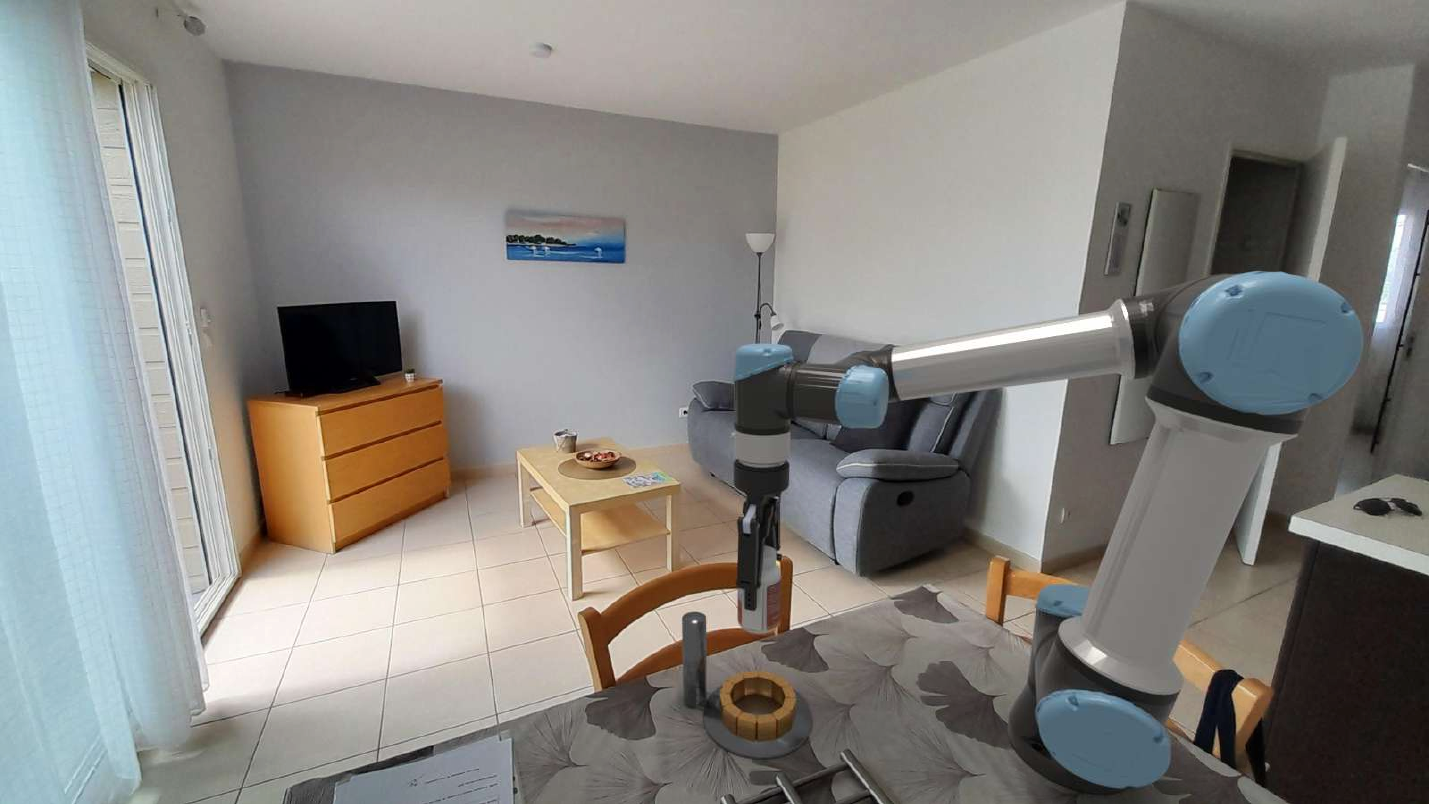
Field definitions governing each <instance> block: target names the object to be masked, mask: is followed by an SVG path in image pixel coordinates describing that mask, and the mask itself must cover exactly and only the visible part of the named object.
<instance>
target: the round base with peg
mask: <svg viewBox="0 0 1429 804" xmlns="http://www.w3.org/2000/svg"><path fill="white" fill-rule="evenodd" d="M681 622H682V623H681V624H682V625H681V626H682V627H681V628H682V629H681V634H682V638H681V639H682V641H681V642H682V697H683V699H682V702H683V704H684V705H685V707H687V708H689V709H693V710H695V709H696V710H700V711H703V714H702V715H703V724H704V728H705V731H706V732H707V734H708V735H709V737H710V738H711V739H712V740H713V742H714V743H715V744H716V745H717V746H719V747H720V748H722V749H723V750H725V751H726V752H728V753H731V754H733V755H735V756H737V757H742V758H744V759H745V758H746V759H751V760H752V759H753V760H771V759H776V758H777V759H778V758H781V757H783V756H787V755H789V754H791V753H793V752H795V751H796V750H798V749H800V747H802V746H803V745H804V744H805V742H806V741H807V739H808V738H809V736H810V734H811V731H812V727H813V715H812V711H811V708H810V706H809V704H808V701H806V699H805V698H804V696H803V695H802V694H801V693H800V692H798V691H797V690H796V689H795V688H793V686H792V685H791V683H789V682H788V681H787V680H785V679H784V678H782V677H781V676H780V675H777V674H776V673H772V672H767V671H762V670H759V671H758V670H750V671H749V670H748V671H741V672H738V673H736V674H734V675H733V676H731V677H729V678H727V679H726V681H724V683H723V684H722V685H721V686H719V687H717V688H716V689H715V690H714V691H713V692H712V693H711V692H707V687H708V686H707V675H708V674H707V672H708V671H707V616H706V614H704V613H703V612H701V611H689V612H686V613H684V614H683V615H682V617H681Z"/></svg>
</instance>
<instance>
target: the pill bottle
mask: <svg viewBox="0 0 1429 804" xmlns="http://www.w3.org/2000/svg"><path fill="white" fill-rule="evenodd" d="M776 560H777V557H776V550H775V549H774V548H772V547H770V546H767V545H764V554H763V564H762V574H761V584H762V585H763V615H762V630H761V631H758V630H753V629H748V628H743V627H742V589H740V588H737V594H736V595H737V597H736V598H737V607H736V610H737V613H736V614H737V623H738V625H739V627H740V628H741V629H742V630H744V631H745V632H748V633H751V634H755V635H765V634H768V633H769V634H770V633H771V632H773V631H775V630H777V629H778V628H779V627H780V625H781V622H782V620H781V619H782V615H781V614H782V611H781V610H782V570H781V567H780V566H779V565H778V564H777V561H776Z"/></svg>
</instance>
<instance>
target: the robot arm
mask: <svg viewBox="0 0 1429 804" xmlns="http://www.w3.org/2000/svg"><path fill="white" fill-rule="evenodd" d="M1363 351H1364V333H1363V327H1362V324H1361V321H1360V319H1359V317H1358V314H1357V313H1356V311H1355V310H1354V309H1353V308H1352V305H1351V304H1350V303H1349V302H1348V301H1347V300H1346V299H1345V298H1344V297H1343V296H1342V295H1341V294H1339V293H1338V292H1337V291H1336V290H1334V289H1332V288H1331V287H1329V286H1328V285H1325V284H1324V283H1321V282H1318V281H1317V280H1314V279H1311V278H1307V277H1304V276H1301V275H1296V274H1289V273H1287V272H1284V271H1261V270H1255V271H1248V272H1244V273H1241V272H1240V273H1236V272H1235V273H1233V272H1232V273H1230V272H1229V273H1228V272H1227V273H1219V274H1213V275H1207V276H1204V277H1200V278H1197V279H1192V280H1190V281H1187V282H1183V283H1180V284H1177V285H1174V286H1171V287H1167V288H1164V289H1160V290H1157V291H1152V292H1149V293H1144V294H1139V295H1135V296H1129V297H1125V298H1119V299H1115V301H1114V302H1113V303H1112V304H1111V306H1110V307H1109V308H1108V309H1105V310H1101V311H1093V312H1089V313H1083V314H1076V315H1071V316H1067V317H1060V318H1053V319H1049V320H1043V321H1038V322H1037V321H1036V322H1031V323H1025V324H1021V325H1020V324H1019V325H1014V326H1008V327H1003V328H997V329H992V330H985V331H979V332H974V333H968V334H963V335H956V336H952V337H950V336H949V337H946V338H940V339H932V340H929V341H922V342H918V343H911V344H905V345H899V346H894V347H893V348H892V347H891V348H883V349H878V350H868V349H866V350H860V351H857V352H855V351H854V352H853V353H851V354H850V355H848V356H846V357H845V358H844V359H841V360H839V361H836V362H835V363H833V364H832V363H811V362H810V363H807V362H800V361H795V359H794V355H793V349H792V348H791V347H790V346H789V345H787V344H779V343H749V344H744V345H742V346H740V347H739V348H738V349H737V350H736V353H735V357H734V358H735V361H734V373H733V374H734V376H733V378H732V382H733V391H734V392H733V394H734V396H733V397H734V399H733V402H734V409H733V410H734V411H733V412H734V423H733V427H734V428H733V429H734V431H733V432H732V433H731V435H730V438H731V440H733V441H734V442H733V443H734V446H733V448H734V449H733V454H734V455H733V456H734V457H735V458H736V459H735V460H734V462H733V485H734V487H735V489H736V490H738V491H740V492H742V493H744V495H746V499H745V501H744V502H743V505H742V514H743V516H738V518H737V520H736V525H737V534H738V535H737V536H738V538H737V561H736V562H737V563H736V564H737V567H736V568H737V569H736V580H735V583H734V584H735V586H736V588H737V589H738V588H740V589H742V627H743V628H748V629H753V630H758V631H761V630H762V615H763V585H762V584H761V574H762V564H763V554H764V545H767V546H770V547H772V548H774V549H775V550H776V557H777V560H776V562H777V561H778V562H782V558H783V554H782V553H778V552H779V551H780V549H781V501H782V499H781V498H782V493H783V492H785V491H786V490H787V489H788V488H789V486H790V463H789V461H788V460H789V459H790V458H791V429H792V428H791V427H792V426H791V421H793V422H794V421H795V422H803V423H804V422H805V423H811V424H812V423H813V424H820V425H821V424H823V425H829V426H830V425H831V426H838V427H845V428H849V429H858V428H859V429H876V428H879V427H880V426H881V425H882V424H883V422H884V420H885V416H886V415H887V410H888V404H889V403H896V402H901V401H908V400H915V399H916V400H917V399H922V398H923V399H924V398H930V397H938V396H939V397H940V396H946V395H954V394H963V393H968V392H976V391H977V392H978V391H985V390H993V389H994V390H995V389H1001V388H1011V387H1017V386H1018V387H1019V386H1024V385H1032V384H1040V383H1048V382H1056V381H1063V380H1064V381H1065V380H1071V379H1079V378H1087V377H1088V378H1089V377H1095V376H1096V377H1097V376H1104V375H1111V374H1119V375H1121V376H1122V377H1124V378H1125V379H1126V380H1128V381H1129V380H1139V379H1147V378H1151V381H1150V383H1149V386H1148V389H1147V392H1146V394H1145V397H1144V401H1145V402H1146V403H1147V405H1148V406H1149V407H1150V409H1151V410H1152V412H1153V414H1154V416H1155V422H1154V425H1153V428H1152V429H1151V432H1150V435H1149V438H1148V440H1147V443H1146V445H1145V448H1144V451H1143V453H1142V456H1141V458H1140V461H1139V464H1138V466H1137V469H1136V472H1135V474H1134V477H1133V480H1132V482H1131V484H1130V487H1129V490H1128V493H1127V495H1126V497H1125V500H1124V503H1123V506H1122V509H1121V511H1120V513H1119V517H1118V518H1117V521H1116V523H1115V526H1114V529H1113V531H1112V534H1111V537H1110V540H1109V542H1108V545H1107V547H1106V550H1105V552H1104V555H1103V558H1102V560H1101V563H1100V565H1099V568H1098V571H1097V573H1096V576H1095V578H1094V581H1093V584H1092V586H1091V587H1088V586H1086V585H1085V586H1083V585H1079V584H1069V583H1058V584H1057V583H1056V584H1049V585H1046V586H1044V587H1043V588H1042V589H1041V590H1040V591H1039V592H1038V595H1037V600H1036V603H1035V604H1034V608H1035V609H1036V610H1035V617H1034V626H1033V632H1032V640H1031V641H1032V642H1031V649H1030V650H1031V651H1030V659H1029V666H1028V674H1027V675H1028V676H1027V682H1026V684H1025V685H1024V687H1023V688H1022V690H1021V692H1020V693H1019V695H1018V697H1017V699H1016V700H1015V702H1014V704H1013V705H1012V707H1011V709H1010V711H1009V714H1008V723H1007V736H1008V739H1009V742H1010V743H1011V746H1012V747H1013V749H1014V750H1015V751H1016V753H1017V754H1018V755H1019V757H1020V758H1022V760H1023V761H1025V763H1026V764H1028V765H1029V766H1030V767H1031V768H1033V769H1034V770H1036V771H1037V772H1038V773H1040V774H1041V775H1042V776H1044V777H1046V778H1048V779H1049V780H1051V781H1053V782H1055V783H1056V784H1057V783H1058V784H1059V785H1062V786H1064V787H1067V788H1069V789H1073V790H1077V791H1080V792H1083V793H1089V794H1094V795H1095V794H1096V795H1110V794H1116V793H1120V792H1122V791H1125V790H1126V789H1127V788H1129V787H1134V788H1142V787H1145V786H1148V785H1151V784H1153V783H1155V782H1156V781H1158V780H1160V778H1162V776H1164V775H1165V774H1166V772H1167V771H1168V769H1169V767H1170V763H1171V757H1172V755H1171V754H1172V752H1171V749H1172V745H1171V743H1172V741H1171V739H1170V738H1171V737H1170V735H1169V734H1168V732H1167V731H1166V726H1167V723H1168V720H1169V717H1170V715H1171V713H1172V711H1173V709H1174V707H1175V705H1176V703H1177V702H1176V701H1177V699H1178V698H1179V695H1180V693H1181V691H1182V688H1183V686H1184V677H1183V674H1182V672H1181V670H1180V669H1179V667H1178V665H1177V664H1176V662H1175V661H1174V658H1175V656H1176V654H1177V651H1178V649H1179V648H1180V647H1179V646H1180V644H1181V643H1182V640H1183V637H1184V635H1185V633H1186V631H1187V628H1188V626H1189V624H1190V622H1191V620H1192V617H1193V615H1194V613H1195V610H1196V609H1197V607H1198V603H1199V602H1200V600H1201V597H1202V595H1203V592H1204V590H1205V589H1206V586H1207V583H1208V581H1209V579H1210V577H1211V575H1212V573H1213V570H1214V568H1215V566H1216V564H1217V561H1218V559H1219V558H1220V557H1219V556H1220V554H1221V553H1222V550H1223V549H1224V545H1225V543H1226V542H1227V539H1228V536H1229V535H1230V532H1231V530H1232V528H1233V526H1234V523H1235V520H1236V518H1237V516H1238V513H1239V512H1240V509H1241V507H1242V506H1243V502H1244V500H1245V498H1246V496H1247V494H1248V492H1249V490H1250V487H1251V485H1252V483H1253V480H1254V478H1255V476H1256V474H1257V472H1258V469H1259V467H1260V465H1261V462H1262V459H1263V458H1264V456H1265V453H1266V451H1267V450H1268V449H1269V448H1270V447H1272V446H1275V445H1278V444H1281V443H1283V442H1287V441H1289V440H1291V439H1294V438H1297V437H1298V435H1299V434H1300V430H1301V429H1302V426H1303V424H1304V422H1305V420H1306V418H1307V416H1308V413H1309V411H1310V409H1311V407H1312V406H1314V405H1316V404H1318V403H1320V402H1322V401H1323V400H1327V399H1329V398H1330V397H1331V396H1333V395H1334V394H1335V393H1336V392H1338V391H1339V390H1340V389H1341V388H1342V387H1343V386H1344V385H1346V383H1347V382H1348V381H1349V380H1350V378H1351V377H1352V376H1353V375H1354V373H1355V372H1356V369H1357V367H1358V365H1359V363H1360V361H1361V358H1362V354H1363ZM743 628H742V629H743Z"/></svg>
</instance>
